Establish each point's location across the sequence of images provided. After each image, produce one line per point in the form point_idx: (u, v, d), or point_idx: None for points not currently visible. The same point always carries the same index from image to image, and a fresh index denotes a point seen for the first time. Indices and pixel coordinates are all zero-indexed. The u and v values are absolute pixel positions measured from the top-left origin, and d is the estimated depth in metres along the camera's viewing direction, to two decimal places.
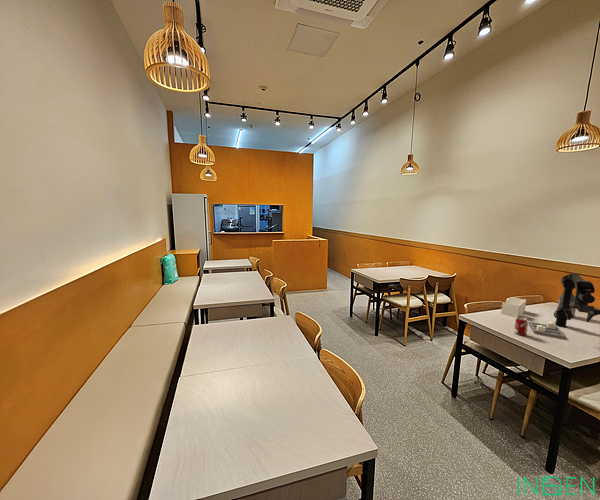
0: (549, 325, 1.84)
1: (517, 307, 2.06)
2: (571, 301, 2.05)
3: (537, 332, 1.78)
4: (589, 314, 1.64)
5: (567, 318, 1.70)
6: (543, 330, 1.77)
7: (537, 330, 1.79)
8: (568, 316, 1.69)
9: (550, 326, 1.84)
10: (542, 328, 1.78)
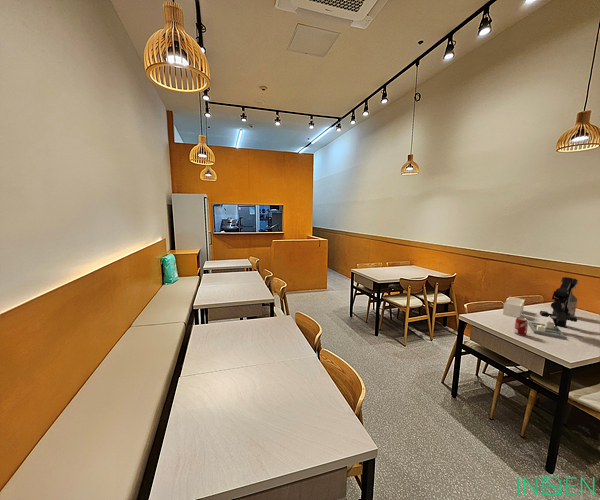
0: (547, 325, 1.85)
1: (519, 307, 2.05)
2: (571, 301, 2.05)
3: (537, 332, 1.78)
4: (558, 320, 1.82)
5: (555, 326, 1.83)
6: (543, 330, 1.77)
7: (537, 330, 1.79)
8: (556, 324, 1.82)
9: (548, 326, 1.84)
10: (542, 328, 1.78)
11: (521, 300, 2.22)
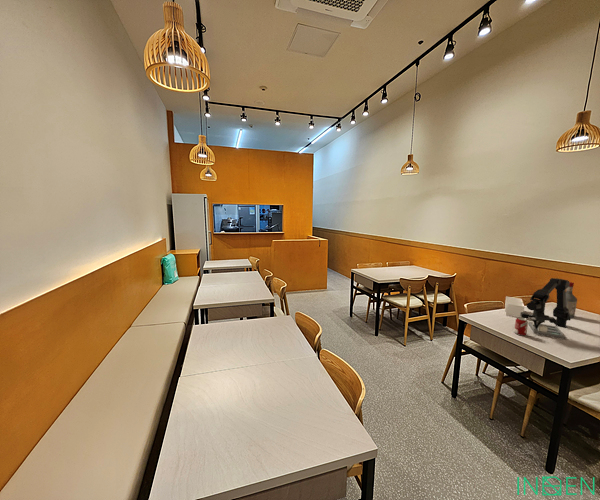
0: None
1: (522, 308, 2.04)
2: (571, 301, 2.05)
3: (537, 332, 1.78)
4: (538, 321, 1.80)
5: (535, 327, 1.81)
6: (545, 330, 1.77)
7: (539, 330, 1.79)
8: (536, 326, 1.80)
9: None
10: (544, 328, 1.77)
11: (518, 299, 2.24)
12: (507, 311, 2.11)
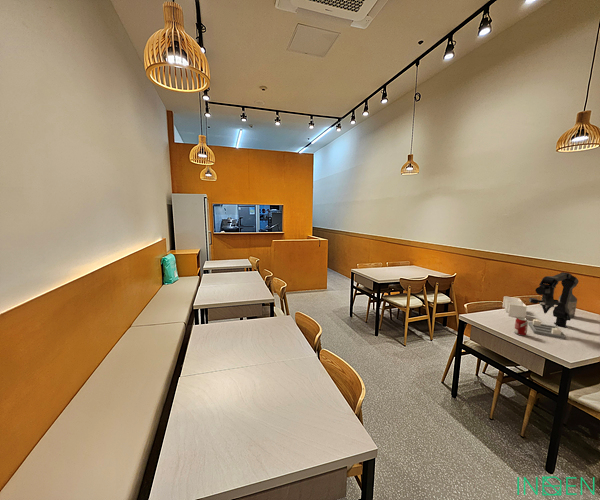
0: (535, 322, 1.88)
1: (525, 308, 2.04)
2: (571, 301, 2.05)
3: (537, 332, 1.78)
4: (547, 306, 1.83)
5: (544, 312, 1.84)
6: (559, 333, 1.73)
7: None
8: (545, 310, 1.83)
9: (536, 323, 1.88)
10: (557, 331, 1.73)
11: (516, 299, 2.25)
12: (510, 312, 2.09)
